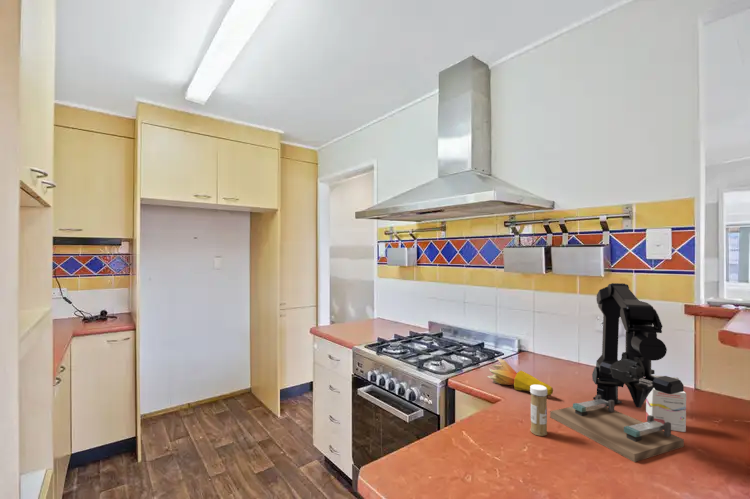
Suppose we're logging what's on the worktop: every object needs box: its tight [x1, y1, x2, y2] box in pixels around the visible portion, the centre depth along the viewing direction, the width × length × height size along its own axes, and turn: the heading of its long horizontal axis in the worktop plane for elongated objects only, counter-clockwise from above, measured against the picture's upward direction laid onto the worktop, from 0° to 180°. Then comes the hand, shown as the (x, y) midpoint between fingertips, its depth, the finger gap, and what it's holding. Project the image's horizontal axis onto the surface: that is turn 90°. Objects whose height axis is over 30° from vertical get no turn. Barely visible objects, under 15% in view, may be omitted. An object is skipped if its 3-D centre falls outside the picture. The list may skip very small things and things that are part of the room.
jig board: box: [549, 394, 685, 463], centre depth 106 cm, size 20×26×6 cm
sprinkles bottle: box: [529, 385, 548, 437], centre depth 105 cm, size 5×5×14 cm
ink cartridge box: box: [645, 374, 687, 433], centre depth 109 cm, size 9×5×15 cm, turn 71°
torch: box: [486, 357, 554, 396], centre depth 138 cm, size 8×8×25 cm
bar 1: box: [572, 399, 608, 412], centre depth 115 cm, size 13×3×1 cm, turn 111°
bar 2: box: [624, 420, 664, 437], centre depth 100 cm, size 13×3×1 cm, turn 111°
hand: (638, 407), depth 98 cm, fingers closed
